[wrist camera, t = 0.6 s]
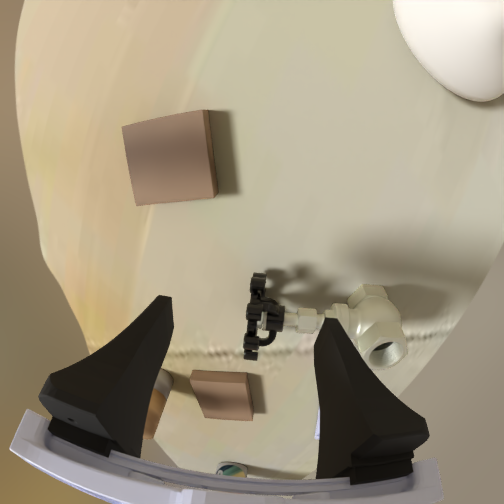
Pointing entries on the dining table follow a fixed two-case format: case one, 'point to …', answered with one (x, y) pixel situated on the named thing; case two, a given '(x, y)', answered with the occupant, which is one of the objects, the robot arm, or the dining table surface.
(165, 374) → the marker peg
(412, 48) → the flower in vase
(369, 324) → the valve
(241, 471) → the lotion bottle
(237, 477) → the robot arm
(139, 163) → the blocks
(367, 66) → the dining table surface
